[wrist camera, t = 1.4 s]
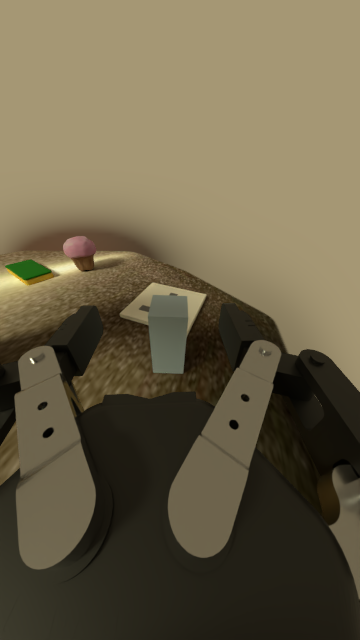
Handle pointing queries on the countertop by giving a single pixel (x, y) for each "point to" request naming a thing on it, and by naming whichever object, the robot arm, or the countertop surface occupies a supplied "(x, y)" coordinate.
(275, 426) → the countertop surface
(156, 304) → the grey rectangular block
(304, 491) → the countertop surface
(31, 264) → the dish sponge
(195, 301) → the board
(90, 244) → the cupcake
